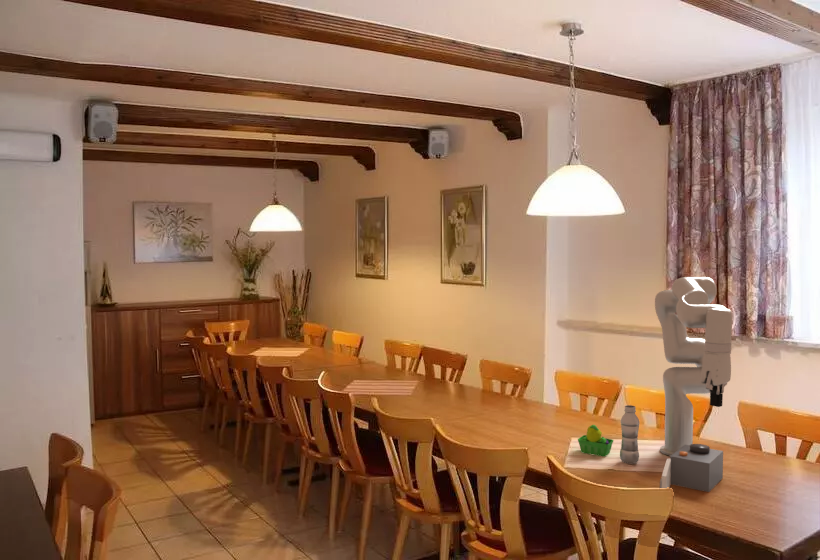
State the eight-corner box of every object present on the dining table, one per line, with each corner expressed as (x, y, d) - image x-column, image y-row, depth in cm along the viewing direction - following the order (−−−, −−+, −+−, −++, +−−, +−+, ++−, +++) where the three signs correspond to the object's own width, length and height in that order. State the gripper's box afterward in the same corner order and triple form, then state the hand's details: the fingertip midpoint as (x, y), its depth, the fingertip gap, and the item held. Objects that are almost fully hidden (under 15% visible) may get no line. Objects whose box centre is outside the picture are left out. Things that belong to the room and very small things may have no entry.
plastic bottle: (635, 459, 247) (635, 404, 246) (641, 465, 241) (642, 408, 239) (617, 459, 247) (617, 404, 246) (623, 466, 240) (624, 408, 239)
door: (670, 483, 222) (671, 459, 221) (665, 503, 205) (666, 476, 205) (664, 482, 222) (665, 458, 222) (659, 502, 206) (659, 475, 206)
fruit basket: (614, 453, 255) (614, 422, 255) (606, 459, 248) (606, 428, 247) (584, 448, 262) (584, 418, 261) (575, 454, 254) (575, 423, 254)
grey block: (684, 470, 235) (685, 439, 235) (722, 478, 228) (723, 446, 227) (669, 483, 223) (670, 451, 222) (708, 492, 215) (709, 458, 215)
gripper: (718, 343, 224) (716, 399, 225) (693, 349, 214) (691, 407, 216) (741, 346, 218) (739, 404, 219) (717, 352, 209) (715, 412, 210)
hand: (716, 405), depth 218 cm, fingers closed
